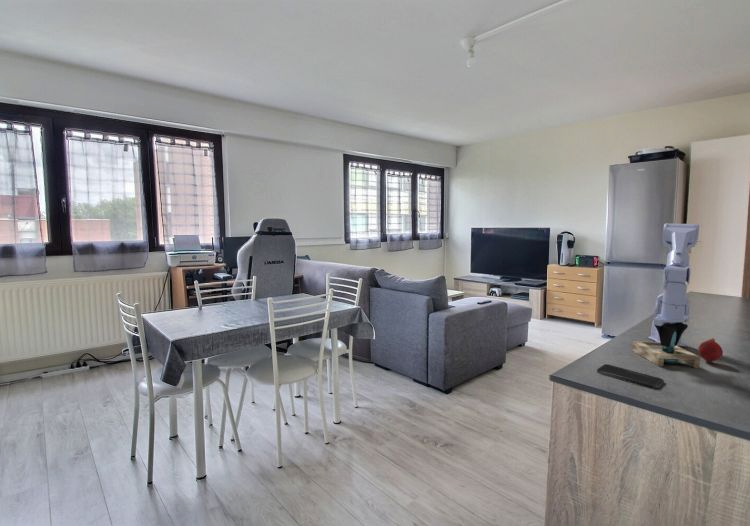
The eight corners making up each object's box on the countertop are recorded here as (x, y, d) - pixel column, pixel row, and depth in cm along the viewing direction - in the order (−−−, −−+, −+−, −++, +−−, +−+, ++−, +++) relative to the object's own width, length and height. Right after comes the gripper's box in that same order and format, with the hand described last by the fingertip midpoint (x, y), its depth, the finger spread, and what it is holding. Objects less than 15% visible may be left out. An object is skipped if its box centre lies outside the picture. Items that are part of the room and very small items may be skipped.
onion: (712, 366, 120) (715, 341, 120) (692, 359, 126) (695, 335, 125) (725, 364, 122) (728, 340, 121) (705, 358, 128) (708, 334, 127)
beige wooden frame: (631, 350, 134) (632, 341, 133) (668, 352, 133) (669, 342, 132) (658, 366, 120) (659, 355, 119) (699, 367, 119) (700, 357, 118)
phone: (657, 387, 103) (596, 369, 114) (656, 391, 103) (595, 373, 114) (665, 379, 108) (605, 363, 119) (664, 383, 108) (605, 367, 119)
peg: (650, 357, 126) (654, 328, 125) (662, 355, 129) (666, 326, 127) (670, 364, 121) (674, 333, 119) (682, 362, 123) (687, 332, 122)
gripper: (674, 299, 129) (669, 339, 130) (645, 302, 123) (641, 343, 125) (698, 304, 122) (693, 346, 124) (669, 307, 117) (664, 351, 118)
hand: (668, 345), depth 124 cm, fingers closed on peg, 3 cm apart
